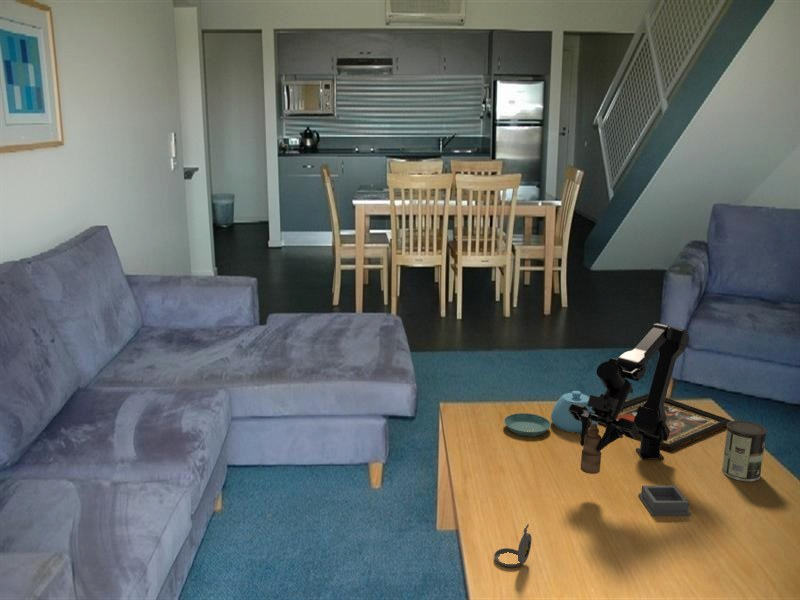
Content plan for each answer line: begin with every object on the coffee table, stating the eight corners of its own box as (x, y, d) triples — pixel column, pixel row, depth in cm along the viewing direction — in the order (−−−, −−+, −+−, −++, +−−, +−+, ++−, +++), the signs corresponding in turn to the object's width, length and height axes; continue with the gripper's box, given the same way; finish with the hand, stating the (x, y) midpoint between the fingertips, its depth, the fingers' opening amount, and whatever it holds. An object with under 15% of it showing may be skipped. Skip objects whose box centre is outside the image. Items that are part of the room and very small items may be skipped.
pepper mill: (578, 465, 208) (581, 420, 204) (596, 465, 208) (600, 419, 205) (583, 474, 203) (587, 427, 200) (602, 473, 203) (606, 427, 200)
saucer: (495, 431, 246) (496, 423, 245) (516, 417, 257) (516, 409, 257) (538, 443, 237) (538, 435, 237) (557, 427, 249) (558, 420, 249)
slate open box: (638, 496, 206) (639, 484, 205) (675, 495, 206) (676, 484, 205) (651, 515, 196) (652, 503, 195) (690, 515, 196) (691, 503, 196)
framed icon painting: (639, 394, 280) (639, 387, 279) (736, 424, 256) (737, 416, 255) (581, 424, 254) (581, 416, 253) (682, 460, 230) (683, 451, 229)
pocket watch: (491, 552, 178) (493, 513, 176) (527, 551, 179) (529, 512, 177) (498, 573, 171) (501, 532, 168) (536, 572, 171) (539, 531, 169)
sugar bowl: (549, 415, 259) (551, 382, 256) (595, 418, 257) (597, 385, 254) (551, 433, 245) (554, 398, 242) (600, 436, 243) (603, 402, 240)
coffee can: (755, 467, 224) (762, 421, 220) (764, 483, 214) (771, 436, 210) (717, 463, 226) (723, 418, 222) (725, 479, 216) (731, 432, 212)
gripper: (574, 374, 209) (548, 423, 204) (637, 392, 196) (611, 445, 191) (587, 394, 216) (563, 442, 211) (649, 413, 203) (624, 465, 198)
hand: (589, 448), depth 203 cm, fingers closed on pepper mill, 4 cm apart
